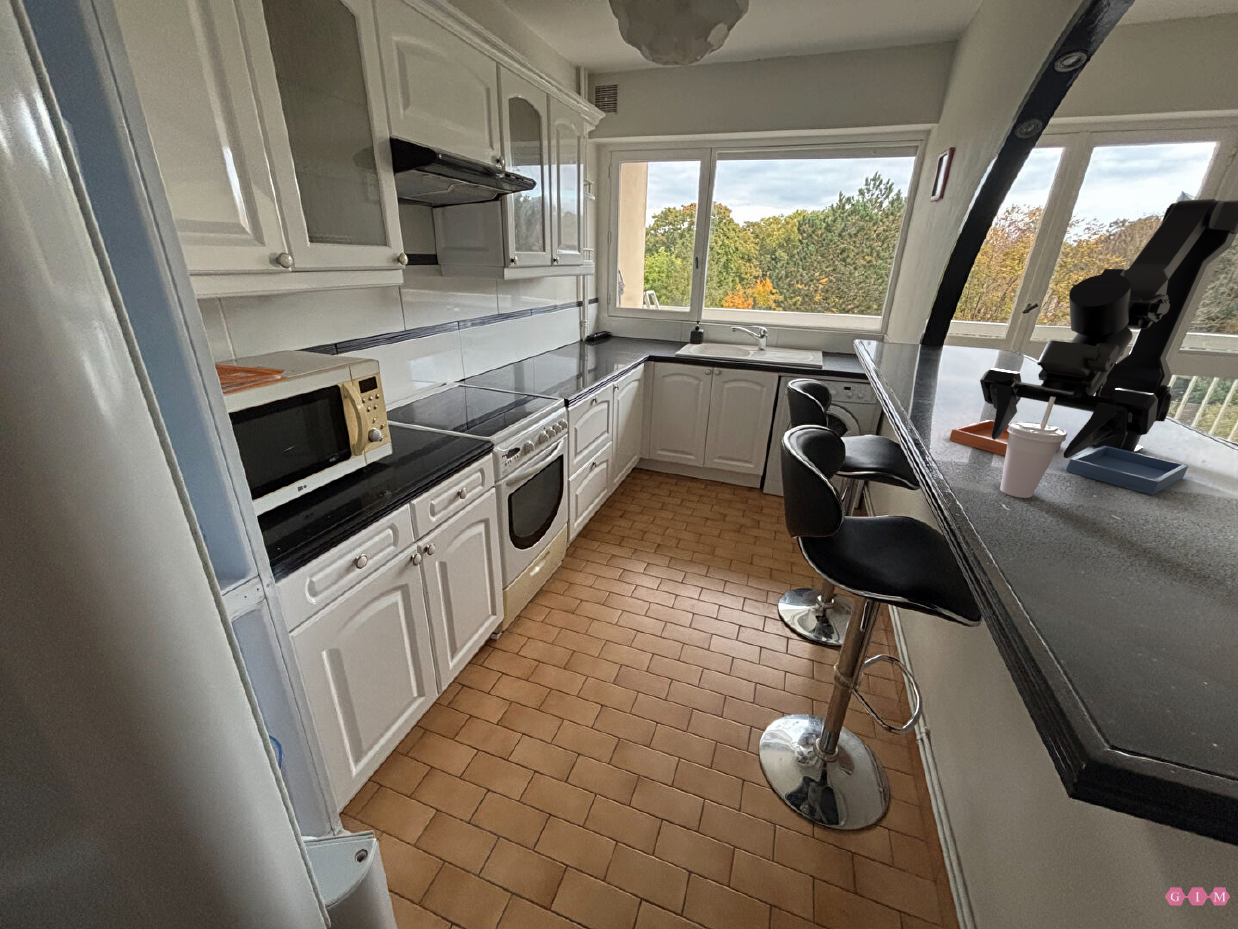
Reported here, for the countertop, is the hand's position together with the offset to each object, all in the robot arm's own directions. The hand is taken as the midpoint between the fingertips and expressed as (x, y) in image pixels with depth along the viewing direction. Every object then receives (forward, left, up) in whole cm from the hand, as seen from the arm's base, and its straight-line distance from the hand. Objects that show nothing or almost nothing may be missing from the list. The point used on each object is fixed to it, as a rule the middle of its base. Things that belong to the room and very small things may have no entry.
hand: (1027, 446), depth 69 cm
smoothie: (-1, 0, -7) cm, 8 cm away
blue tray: (-24, +5, -7) cm, 26 cm away
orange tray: (-23, -12, -7) cm, 27 cm away
